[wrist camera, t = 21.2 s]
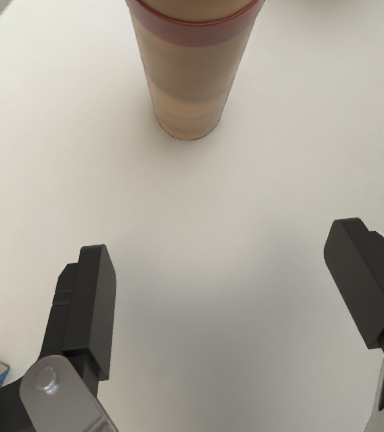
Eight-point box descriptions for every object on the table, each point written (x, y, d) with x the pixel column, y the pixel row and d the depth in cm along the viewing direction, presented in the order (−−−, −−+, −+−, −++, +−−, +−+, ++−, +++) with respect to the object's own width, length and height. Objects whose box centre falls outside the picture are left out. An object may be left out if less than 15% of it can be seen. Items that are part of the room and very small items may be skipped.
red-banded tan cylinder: (203, 60, 22) (248, -268, 7) (234, 122, 22) (341, -80, 7) (141, 90, 22) (56, -184, 7) (172, 153, 22) (151, 9, 7)
